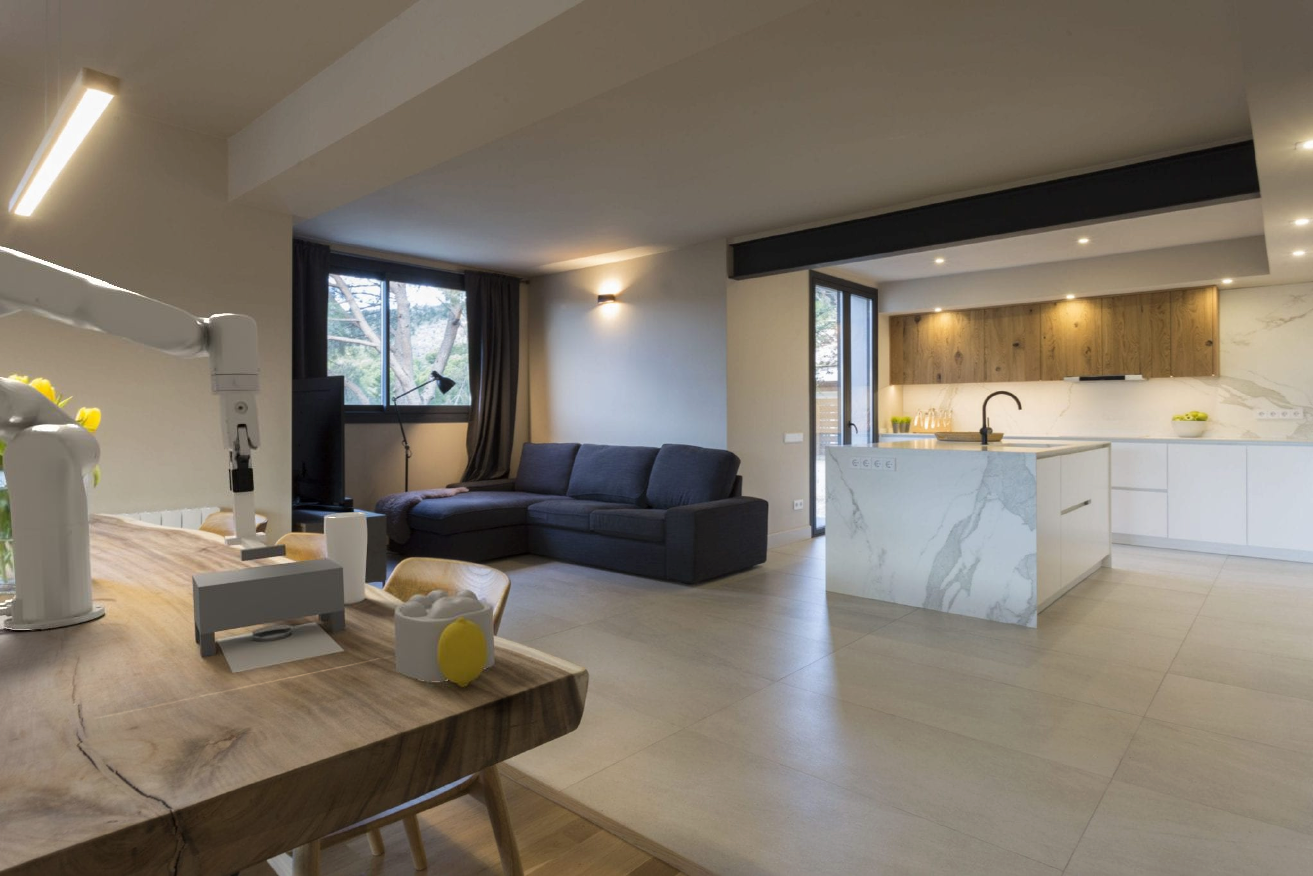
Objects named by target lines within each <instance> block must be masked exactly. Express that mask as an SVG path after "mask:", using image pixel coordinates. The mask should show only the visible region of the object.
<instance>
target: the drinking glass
mask: <svg viewBox="0 0 1313 876" xmlns="http://www.w3.org/2000/svg"><path fill="white" fill-rule="evenodd" d="M367 523H368V522H367V513H366V512H361V511H359V512H357V511H355V512H340V513H332V514H327V515H324V516H323V534H324V536H323V537H324V546H325V547H324V548H325V554H326V555H325V556H326V558H328V559H330V560H331V561H333V562H335V563H336V564H338V565H340V566H341V567H343V583H344V605H351V604H358V603H361V602H362V601H364V600H365V599H366V568H367V552H368V551H367V548H368V546H367V545H368V524H367Z"/></svg>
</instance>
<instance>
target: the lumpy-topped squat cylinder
mask: <svg viewBox="0 0 1313 876" xmlns="http://www.w3.org/2000/svg"><path fill="white" fill-rule="evenodd" d="M393 616H394V617H393V618H394V638H395V639H394V641H395V670H396V671H397V673H399V672H400V673H399V674H401V673H402V674H401V675H403V674H404V675H403V676H405V675H406V676H405V677H407V676H409V677H408V678H410V677H412V678H411V679H413V678H416V679H420V680H424V681H445V680H447V678H446V677H445V676H444V675H443V674H442V672H441V670H440V668H439V665H438V660H437V648H438V643H439V639H440V636H441V634H442V632H443V631H444V630H445V628H446V627H447V626H449V625H450V624H451V623H453V622H455V621H457V620H458V618H465V619H466V620H468V621H471V622H473V623H475V624H476V625H478V626H479V627H480V628H481V630H482V632H483V634H484V636H485V640H486V644H487V660H486V664H485V667H484V668H487V667H490V666H491V665H493V664H494V662H495V659H496V658H495V637H494V635H495V634H494V629H495V628H494V609H493V606H492V605H491V604H490V603H488V602H486V601H482V600H479V599H478V596H477V594H476V593H475V592H473V591H472V590H471V589H463V590H461V591H459V592H458V593H456V594H454V596H453V595H452V596H449V594H448V593H447V592H445V591H444V590H443V589H435V590H432V591H430V592H429V593H428V594H427V595H423V594H421V593H419V594H417V593H416V594H414V595H412V596H411V597H410V598H409V599H408V600H407V601H405V602H403V603H400V604H399V605H397V607H395V610H394V615H393ZM494 665H495V664H494ZM494 665H493V666H494ZM490 668H491V667H490ZM416 679H415V680H416Z"/></svg>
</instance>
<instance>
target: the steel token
mask: <svg viewBox="0 0 1313 876" xmlns="http://www.w3.org/2000/svg"><path fill="white" fill-rule="evenodd" d="M291 626H292V625H289V624H274V625H267V626H263V627H259V628H256V629H255V630H253V631H252V632H251V633H252V638H253V641H256V642H269V641H276V640H280V639H284V638H287V637H289V636H291V635H292V628H291Z"/></svg>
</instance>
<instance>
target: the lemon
mask: <svg viewBox="0 0 1313 876" xmlns="http://www.w3.org/2000/svg"><path fill="white" fill-rule="evenodd" d="M437 660H438V665H439V668H440V670H441V672H442V674H443V675H444V676H445V677H446V678H447V679H448V680H450V681H449V682H452V683H456V684H457V685H458V686H459V687H460V688H466V687H467V686H468V685H469V683H470V682H472V681H474V680H476V678H478V677H479V676H480V675H481V673H482V672H483V671H484V670H483V669H484V667H485V664H486V660H487V644H486V640H485V636H484V634H483V632H482V630H481V628H480V627H479V626H478V625H476V624H475V623H473V622H471V621H468V620H466V619H465V618H458V620H457V621H455V622H453V623H451V624H450V625H449V626H447V627H446V628H445V630H444V631H443V632H442V634H441V636H440V639H439V643H438V648H437ZM465 686H466V687H465Z"/></svg>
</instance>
